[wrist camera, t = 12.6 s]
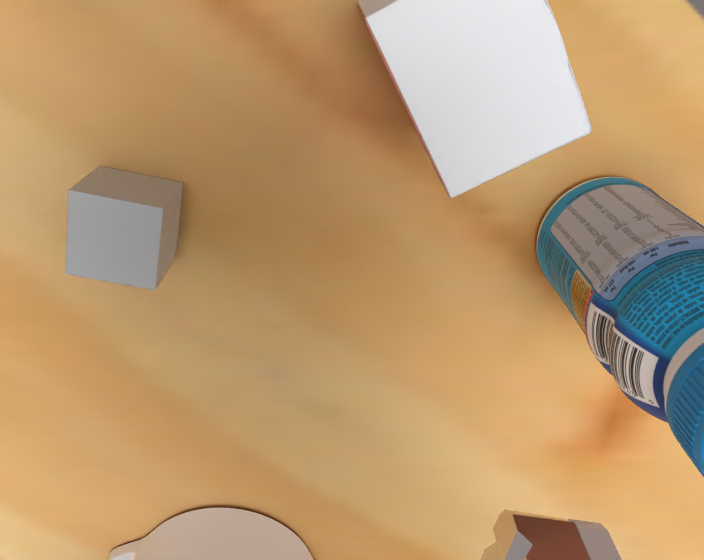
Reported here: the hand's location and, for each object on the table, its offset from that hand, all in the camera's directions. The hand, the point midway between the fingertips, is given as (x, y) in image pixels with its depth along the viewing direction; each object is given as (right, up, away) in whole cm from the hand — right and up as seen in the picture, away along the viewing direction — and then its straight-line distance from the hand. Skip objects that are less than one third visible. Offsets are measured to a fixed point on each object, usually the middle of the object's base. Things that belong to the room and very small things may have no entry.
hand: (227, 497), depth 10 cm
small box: (+7, +17, +27) cm, 32 cm away
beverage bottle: (+17, +6, +32) cm, 37 cm away
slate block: (-11, +7, +31) cm, 34 cm away
